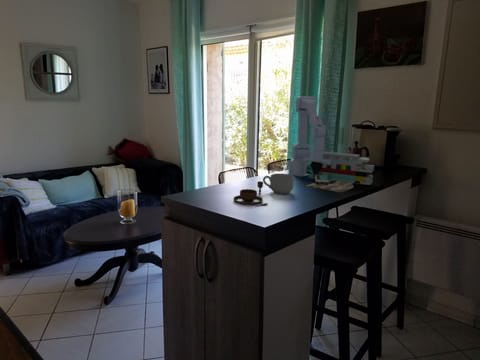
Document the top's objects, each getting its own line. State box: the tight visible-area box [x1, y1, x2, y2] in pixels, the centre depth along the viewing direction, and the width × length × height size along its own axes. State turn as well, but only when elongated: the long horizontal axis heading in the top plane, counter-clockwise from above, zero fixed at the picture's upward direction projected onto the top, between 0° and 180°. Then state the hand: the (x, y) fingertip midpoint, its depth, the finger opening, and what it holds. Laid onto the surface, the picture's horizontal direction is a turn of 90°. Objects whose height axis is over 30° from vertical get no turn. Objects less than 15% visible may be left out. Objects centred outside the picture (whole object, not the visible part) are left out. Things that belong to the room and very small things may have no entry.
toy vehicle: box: [311, 151, 375, 187], centre depth 185 cm, size 8×30×15 cm, turn 62°
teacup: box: [262, 173, 295, 195], centre depth 159 cm, size 14×11×8 cm
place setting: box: [233, 181, 268, 208], centre depth 146 cm, size 18×20×6 cm
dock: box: [305, 181, 355, 193], centre depth 175 cm, size 19×14×4 cm
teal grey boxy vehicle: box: [314, 173, 335, 185], centre depth 176 cm, size 7×7×5 cm
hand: (315, 177), depth 179 cm, fingers closed
